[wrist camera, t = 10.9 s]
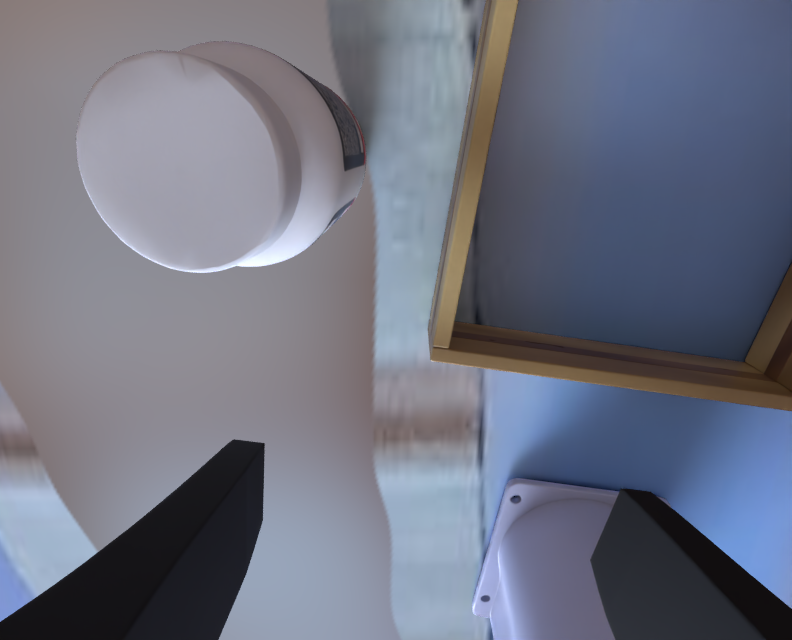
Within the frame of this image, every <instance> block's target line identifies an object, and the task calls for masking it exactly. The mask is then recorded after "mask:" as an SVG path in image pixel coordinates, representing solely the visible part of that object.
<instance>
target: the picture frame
mask: <svg viewBox="0 0 792 640" xmlns="http://www.w3.org/2000/svg"><path fill="white" fill-rule="evenodd" d="M518 1H519V0H486V3H485V9H484V15H483V20H482V26H481V31H480V37H479V43H478V48H477V54H476V60H475V65H474V71H473V77H472V82H471V88H470V94H469V99H468V105H467V111H466V116H465V122H464V128H463V133H462V139H461V144H460V150H459V156H458V161H457V167H456V173H455V178H454V184H453V190H452V195H451V201H450V207H449V212H448V218H447V224H446V229H445V235H444V241H443V246H442V252H441V257H440V263H439V269H438V274H437V280H436V286H435V291H434V297H433V303H432V308H431V314H430V320H429V325H428V337H429V350H430V360H431V361H434V362H442V363H449V364H456V365H463V366H470V367H478V368H485V369H492V370H499V371H506V372H514V373H521V374H528V375H535V376H542V377H550V378H557V379H564V380H571V381H578V382H586V383H593V384H600V385H607V386H614V387H622V388H629V389H636V390H643V391H650V392H658V393H665V394H672V395H679V396H686V397H693V398H701V399H708V400H715V401H722V402H729V403H737V404H744V405H751V406H758V407H765V408H773V409H780V410H787V411H792V263H791V265H790V267H789V269H788V271H787V273H786V276H785V278H784V280H783V282H782V284H781V286H780V288H779V290H778V292H777V294H776V296H775V298H774V300H773V302H772V305H771V307H770V309H769V311H768V313H767V315H766V317H765V319H764V321H763V323H762V325H761V327H760V329H759V332H758V334H757V336H756V338H755V340H754V342H753V344H752V346H751V348H750V350H749V352H748V354H747V356H746V358H745V362H741V361H734V360H727V359H720V358H713V357H706V356H699V355H691V354H684V353H677V352H670V351H663V350H656V349H649V348H642V347H635V346H627V345H620V344H613V343H606V342H599V341H592V340H585V339H578V338H570V337H563V336H556V335H549V334H542V333H535V332H528V331H521V330H514V329H506V328H499V327H492V326H485V325H478V324H471V323H464V322H457V321H455V316H456V311H457V306H458V301H459V296H460V291H461V286H462V281H463V276H464V271H465V266H466V261H467V256H468V251H469V246H470V241H471V236H472V231H473V226H474V221H475V216H476V211H477V206H478V201H479V196H480V191H481V186H482V181H483V176H484V171H485V166H486V161H487V156H488V151H489V146H490V141H491V136H492V131H493V126H494V121H495V116H496V111H497V106H498V101H499V96H500V91H501V86H502V81H503V76H504V71H505V66H506V61H507V56H508V51H509V46H510V41H511V36H512V31H513V26H514V21H515V16H516V11H517V6H518Z"/></svg>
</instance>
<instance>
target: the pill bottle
mask: <svg viewBox="0 0 792 640" xmlns="http://www.w3.org/2000/svg"><path fill="white" fill-rule="evenodd" d="M76 133H77V134H76V142H77V159H78V165H79V169H80V173H81V176H82V179H83V183H84V186H85V188H86V190H87V192H88V195H89V197H90V199H91V201H92V203H93V204H94V206H95V208H96V210H97V212H98V213H99V215H100V216H101V218H102V219H103V220H104V222H105V223H106V224H107V225H108V226H109V227H110V228H111V230H112V231H113V232H114V233H115V234H116V235H117V236H118V237H119V238H120V239H121V240H122V241H123V242H124V243H125V244H127V245H128V246H129V247H130V248H132V249H133V250H134V251H136V252H138V253H139V254H141V255H142V256H144V257H146V258H147V259H150V260H151V261H153V262H155V263H158V264H161V265H163V266H165V267H168V268H171V269H175V270H180V271H186V272H194V273H197V272H198V273H200V272H201V273H205V272H215V271H220V270H225V269H228V268H231V267H234V266H245V267H255V266H265V265H271V264H274V263H278V262H281V261H284V260H287V259H289V258H291V257H293V256H296V255H297V254H299V253H300V252H302V251H303V250H305V249H307V248H308V247H309V246H311V245H312V244H313V243H314V242H315V241H316V240H317V239H318V238H319V237H320V236H321V235H322V234H323V233H325V232H326V231H327V230H328V229H329V228H330V227H331V226H332V225H333V224H334V223H335V222H336V221H337V220H338V219H339V218H340V217H341V216H342V215H343V214H344V213H345V212H346V211H347V210H348V209H349V208H350V206H351V205H352V203H353V202H354V200H355V199H356V197H357V195H358V193H359V191H360V189H361V186H362V183H363V180H364V175H365V169H366V147H365V141H364V137H363V134H362V131H361V128H360V126H359V123H358V122H357V120H356V118H355V116H354V114H353V113H352V111H351V110H350V108H349V107H348V106H347V105H346V103H345V102H344V101H343V100H342V99H341V98H340V97H339V96H338V95H336V94H335V93H334V92H333V91H332V90H331V89H329V88H328V87H326V86H324V85H322V84H321V83H319V82H318V81H316V80H315V79H313V78H311V77H310V76H308V75H307V74H305V73H304V72H302V71H301V70H299V69H298V68H296V67H295V66H293V65H291V64H290V63H288V62H287V61H285V60H284V59H282V58H280V57H278V56H276V55H275V54H272V53H270V52H268V51H266V50H263V49H260V48H257V47H254V46H251V45H247V44H242V43H236V42H229V41H213V42H205V43H200V44H196V45H193V46H189V47H187V48H184V49H182V50H180V51H178V52H177V51H161V50H160V51H150V52H144V53H140V54H137V55H133V56H130V57H127V58H125V59H123V60H122V61H119V62H117V63H116V64H114V65H113V66H112V67H111V68H109V69H108V70H107V71H106V72H104V73H103V74H102V76H101V77H99V79H98V80H97V81H96V82H95V83H94V85H93V86H92V88H91V90H90V91H89V93H88V95H87V97H86V99H85V101H84V103H83V106H82V109H81V112H80V116H79V121H78V126H77V132H76Z"/></svg>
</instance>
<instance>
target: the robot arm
mask: <svg viewBox="0 0 792 640" xmlns="http://www.w3.org/2000/svg"><path fill="white" fill-rule="evenodd" d="M264 446H265V445H264V443H258V442H249V441H242V440H232V441H231V442H229V443H228V444H227V445H226V446H225V447H224V448H222V449H221V450H220V451H219V452H218V453H217V454H216V455H215V456H213V457H212V458H211V459H210V460H209V461H208V462H207V463H206V464H205V465H204V466H202V467H201V468H200V469H199V470H198V471H197V472H196V473H194V474H193V475H192V476H191V477H190V478H189V479H188V480H186V481H185V482H184V483H183V484H182V485H181V486H180V487H178V488H177V489H176V490H175V491H174V492H173V493H171V494H170V495H169V496H168V497H167V498H165V499H164V500H163V501H162V502H161V503H159V504H158V505H157V506H156V507H155V508H153V509H152V510H151V511H150V512H149V513H147V514H146V515H145V516H144V517H143V518H141V519H140V520H139V521H138V522H136V523H135V524H134V525H133V526H131V527H130V528H129V529H128V530H126V531H125V532H124V533H122V534H121V535H120V536H119V537H117V538H116V539H115V540H113V541H112V542H111V543H109V544H108V545H107V546H106V547H104V548H103V549H102V550H100V551H99V552H98V553H96V554H95V555H94V556H93V557H91V558H90V559H89V560H87V561H86V562H85V563H83V564H82V565H81V566H79V567H78V568H77V569H75V570H74V571H73V572H71V573H70V574H68V575H67V576H66V577H64V578H63V579H62V580H60V581H59V582H57V583H56V584H55V585H53V586H52V587H50V588H49V589H48V590H46V591H45V592H43V593H42V594H40V595H39V596H38V597H36V598H35V599H33V600H32V601H30V602H29V603H27V604H26V605H24V606H23V607H22V608H20V609H19V610H17V611H16V612H14V613H13V614H11V615H10V616H8V617H7V618H5V619H4V620H2V621H1V622H0V640H218V639H219V637H220V635H221V632H222V629H223V628H224V625H225V623H226V621H227V618H228V616H229V613H230V611H231V609H232V606H233V604H234V602H235V599H236V597H237V595H238V592H239V590H240V587H241V585H242V582H243V580H244V578H245V575H246V573H247V570H248V566H249V563H250V560H251V557H252V554H253V551H254V548H255V544H256V541H257V538H258V534H259V531H260V528H261V524H262V521H263V489H264ZM514 495H518V496H517V497H514V498H513V497H512V496H514ZM472 610H473V613H474V614H475V615H477V616H480V617H488V618H490V619H491V625H492V631H493V637H494V640H792V609H791V608H790V607H789V606H787V605H786V604H785V603H784V602H783V601H781V600H780V599H779V598H778V597H777V596H775V595H774V594H773V593H772V592H771V591H769V590H768V589H767V588H766V587H765V586H763V585H762V584H761V583H760V582H759V581H757V580H756V579H755V578H754V577H753V576H751V575H750V574H749V573H748V572H747V571H745V570H744V569H743V568H742V567H741V566H740V565H738V564H737V563H736V562H735V561H734V560H733V559H731V558H730V557H729V556H728V555H727V554H725V553H724V552H723V551H722V550H721V549H720V548H718V547H717V546H716V545H715V544H714V543H713V542H711V541H710V540H709V539H708V538H707V537H706V536H704V535H703V534H702V533H701V532H700V531H698V530H697V529H696V528H695V527H694V526H693V525H691V524H690V523H689V522H688V521H687V520H685V519H684V518H683V517H682V516H681V515H679V514H678V513H677V512H676V511H675V510H673V509H672V508H671V506H670V504H669V503H668V501H667V500H666V499H665V498H662V497H657V496H656V495H654V494H653V493H652V492H648V491H640V490H632V489H624V488H621V490H620V492H618V491H611V490H603V489H596V488H589V487H581V486H574V485H566V484H559V483H552V482H544V481H537V480H529V479H522V478H514V479H511V480H510V481H509V482H508V483H507V485H506V488H505V492H504V495H503V499H502V502H501V506H500V509H499V512H498V516H497V519H496V523H495V526H494V530H493V533H492V537H491V540H490V543H489V547H488V550H487V554H486V557H485V561H484V564H483V567H482V571H481V574H480V578H479V581H478V585H477V588H476V592H475V595H474V598H473V602H472Z"/></svg>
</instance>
